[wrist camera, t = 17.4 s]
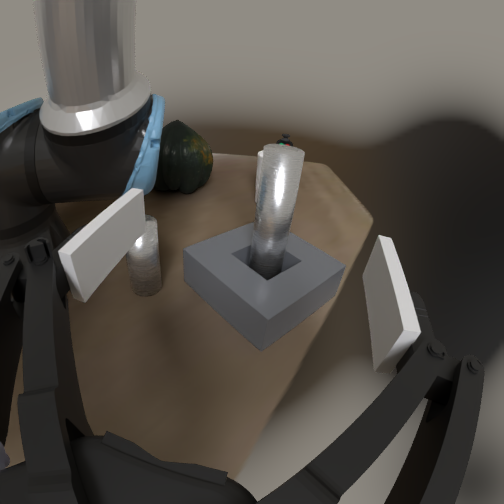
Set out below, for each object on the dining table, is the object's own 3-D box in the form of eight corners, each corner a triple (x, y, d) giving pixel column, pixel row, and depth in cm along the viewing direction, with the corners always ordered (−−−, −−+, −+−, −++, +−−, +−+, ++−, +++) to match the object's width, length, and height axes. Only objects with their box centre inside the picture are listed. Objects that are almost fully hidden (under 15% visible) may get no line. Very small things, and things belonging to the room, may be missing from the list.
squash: (176, 185, 49) (208, 113, 51) (117, 173, 53) (148, 110, 55) (207, 211, 62) (231, 149, 64) (153, 197, 67) (177, 142, 68)
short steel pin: (126, 282, 36) (116, 221, 31) (152, 271, 38) (147, 211, 33) (140, 300, 34) (130, 236, 29) (167, 288, 36) (163, 225, 31)
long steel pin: (239, 287, 38) (255, 145, 28) (261, 275, 40) (282, 142, 30) (261, 305, 36) (286, 157, 26) (283, 291, 38) (312, 153, 28)
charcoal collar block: (184, 280, 38) (183, 248, 35) (261, 246, 46) (265, 217, 43) (261, 351, 30) (268, 319, 27) (335, 295, 38) (346, 265, 36)
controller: (288, 168, 80) (294, 134, 74) (287, 183, 70) (294, 144, 64) (273, 165, 80) (278, 131, 75) (269, 180, 70) (275, 140, 64)
